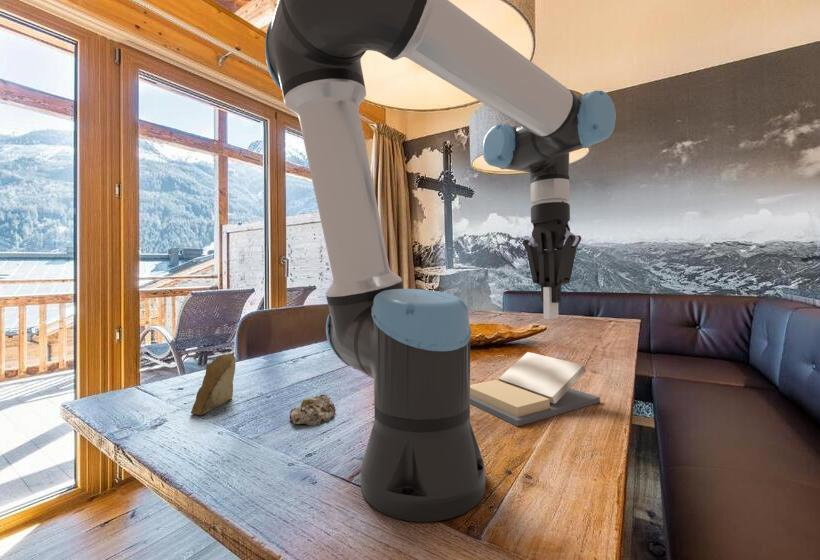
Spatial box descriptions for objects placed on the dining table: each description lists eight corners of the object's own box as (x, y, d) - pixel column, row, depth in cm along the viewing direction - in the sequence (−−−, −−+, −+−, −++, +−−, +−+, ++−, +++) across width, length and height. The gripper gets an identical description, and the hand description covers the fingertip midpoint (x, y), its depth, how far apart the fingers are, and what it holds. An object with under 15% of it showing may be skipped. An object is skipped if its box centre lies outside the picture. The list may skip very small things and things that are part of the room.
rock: (204, 408, 65) (253, 385, 74) (181, 367, 67) (232, 349, 76) (183, 432, 71) (231, 408, 79) (163, 394, 72) (212, 375, 81)
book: (554, 403, 68) (552, 397, 67) (500, 384, 80) (498, 378, 80) (585, 371, 72) (583, 365, 72) (530, 357, 84) (527, 351, 84)
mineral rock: (324, 416, 62) (282, 400, 64) (318, 441, 62) (276, 424, 64) (349, 397, 72) (312, 383, 74) (343, 418, 72) (307, 404, 74)
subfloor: (517, 426, 62) (517, 410, 62) (459, 398, 76) (458, 385, 76) (599, 402, 73) (599, 388, 73) (535, 381, 87) (535, 370, 86)
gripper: (590, 199, 73) (591, 320, 73) (537, 209, 84) (538, 314, 85) (564, 196, 69) (565, 323, 70) (513, 207, 80) (514, 316, 81)
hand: (551, 318), depth 77 cm, fingers closed
